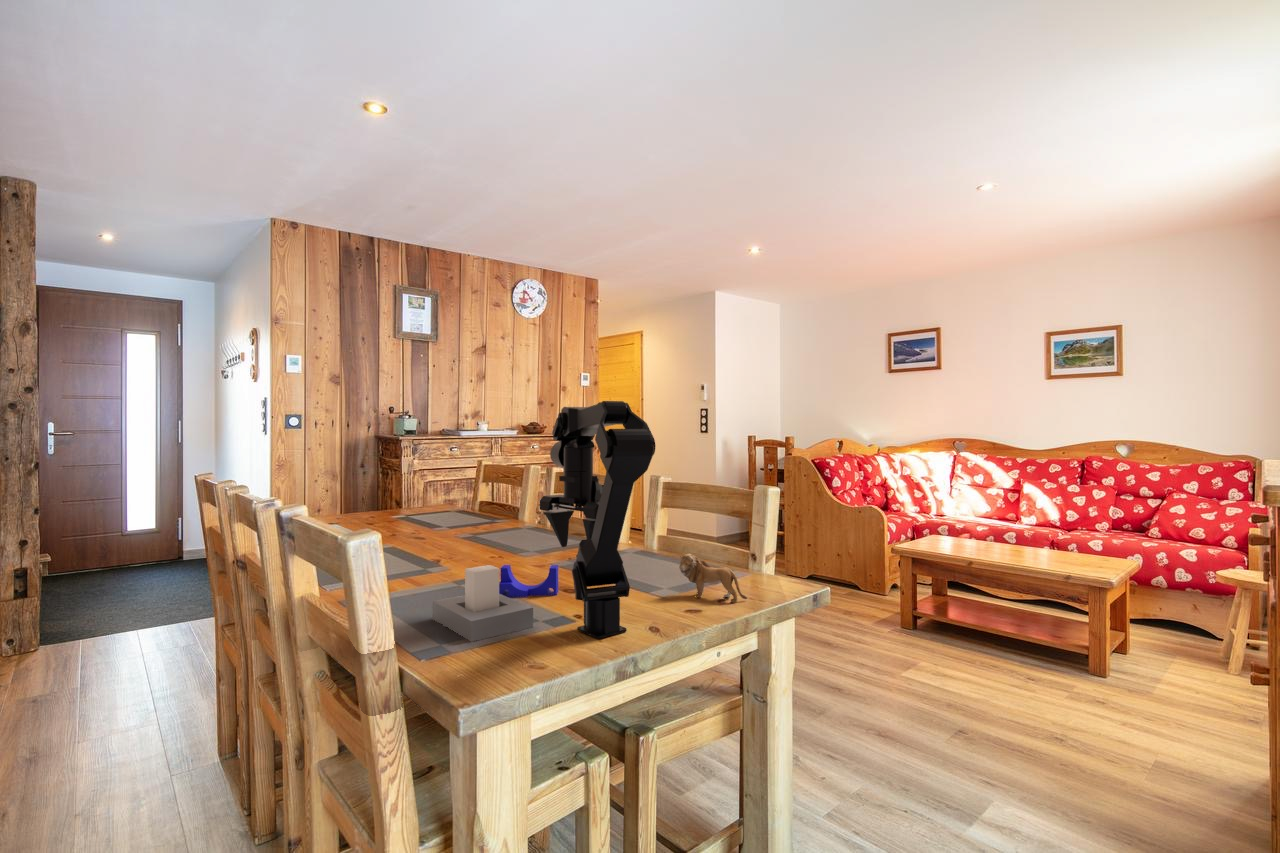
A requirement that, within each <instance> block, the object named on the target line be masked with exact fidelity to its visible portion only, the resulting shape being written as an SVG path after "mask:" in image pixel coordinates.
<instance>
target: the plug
mask: <svg viewBox="0 0 1280 853" xmlns="http://www.w3.org/2000/svg"><path fill="white" fill-rule="evenodd" d="M499 583H500V568H499V567H498V566H497V567H496V566H494V565H492V564H488V565H482V566H481V565H480V566H474V567H473V566H472V567H469V568H468V567H467V568H464V595H465V609H467V610H469V611H471V612H477V611H481V610H486V609H491V608H496V607H499Z"/></svg>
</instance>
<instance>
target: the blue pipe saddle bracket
mask: <svg viewBox="0 0 1280 853" xmlns="http://www.w3.org/2000/svg"><path fill="white" fill-rule="evenodd" d="M548 570H549V571H548V575H547V577H546V579H544V580H543V581H542V582H541V583H538V584H535V585H534V584H533V585H528V584H524V583H522V582H520V581H519V580H518V579H517V578H516V577H515V575H514V574H513V571H512V568H511V564H503V565H502V566H501V567H500V581H499V594H501V595H504V596H506V597H509V598H528V597H529V596H557V595H558V593H559V565H558V564H551V565H550V566H549V569H548ZM550 589H552V590H550Z"/></svg>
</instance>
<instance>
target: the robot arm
mask: <svg viewBox="0 0 1280 853" xmlns="http://www.w3.org/2000/svg"><path fill="white" fill-rule="evenodd" d="M614 425H622V427H623V428H609V429H607V430H606V428H607V427H610V426H614ZM605 427H606V428H605ZM551 434H552V437H553V438H552V439H553V441H554V442H555V441H557V442H555V443H554V444H553V445H552V447H551V450H550V452H549V456H550V460H551V462H552V463H553V464H554V465H555V466H556V467H560V468H563V475H559V482H563V494H560V493H559V494H551V495H550V494H549V495H543V496H541V498H540V500H539V510H540V511H543V515H544V516H545V517H546V518H547V520H548V522H549V524H550V526H551V527H552V531H553V532H554V534H555V535H556V538H557V540H558V542H559V544H560V546H561V547H562V548H566V547H567V546H568V540H569V528H570V519H571V518H572V516H573V514H574V513H575V512H582V513H583V515H584V518H583V519H582V523H583V528H584V532H585V537H586V539H582V540H580V542H579V543H578V550H577V554H576V556H575V557H576V561H574V563H573V566H572V570H571V574H572V580H573V586H574V587H573V588H574V589H573V590H574V596H575V598H574V599H575V600H576V601H582V602H583V625H580V626H577V627H576V628H577V631H578V632H581V633H583V634H585V635H588V636H591V637H593V638H595V639H604V638H607V637H611V636H614V635H618V634H622V633H625V632H627V630H628V628H626V627H625V626H622V625H621V624H620V623H621V618H620V617H621V612H620V610H621V606H620V605H621V603H620V602H621V599H620V598H624V597H625V598H627V597H628V598H629V595H630V589H631V586H630V583H629V580H628V575H627V574H626V573H627V572H626V570H625V567H624V560H623V559H622V556H621V554H620V553H619V550H618V547H619V543H620V539H621V536H622V531H623V529H624V524H625V521H626V516H627V513H628V512H627V511H628V508H629V505H630V500H631V496H632V492H633V488H634V484H635V482H636V481H637V480H639V479H640V478H641V477H642V476H643V475H644V474H645V473H646V472H647V471H648V469H649V467H650V464H651V462H652V459H653V456H654V455H655V452H656V440H655V437H654V435H653V434H652V431H651V429H650V427H649V424H648V423H647V422H646V421H645V420H644V419H642V417H640V416H638V415H637V414H636V413H635V412H633V411H632V409H631V406H630V404H629V403H628V402H624V401H623V400H602V401H600V402H599V401H598V403H597V404H592V405H590V406H563V407H562V408H561V410H560V412H559V413H558V415H557V417H556V420H555V423H554V426H553V428H552V433H551ZM593 440H595V442H594V441H593ZM595 443H596V446H597V448H598V451H599V457H600V458H599V459H600V460H601V462H602V464H603V467H604V469H605V471H606V472H605V478H604V482H603V484H602V483H599V477H598V475H594V449H595V447H596V446H595ZM607 585H608V586H607ZM598 586H599V587H598Z"/></svg>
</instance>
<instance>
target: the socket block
mask: <svg viewBox="0 0 1280 853" xmlns="http://www.w3.org/2000/svg"><path fill="white" fill-rule="evenodd" d="M434 620H435V622H436V621H437V622H436V623H438V622H439V623H441V624H443V625H444V626H443V625H442V626H443V627H445V626H446V627H448V628H449V629H448V628H447V629H448V630H450V629H451V630H450V631H452V630H453V631H454V633H455V632H456V633H455V634H457V633H458V634H457V635H459V636H460V635H461V636H460V637H462V636H463V637H462V638H464V639H465V640H467V639H468V640H467V641H469V642H471V643H472V641H473V642H476V640H477V641H481V640H486V639H489V638H493V637H497V636H501V635H506V634H509V633H510V634H511V633H514V632H518V631H521V630H522V631H523V630H526V629H531V628H533V627H534V608H533V607H532V606H531V605H527V604H525V603H523V602H520V601H518V600H515V599H513V598H512V597H506V596H504V595H501V594H499V607H496V608H491V609H486V610H481V611H477V612H471V611H469V610H467V609H465V594H463V595H458V596H456V595H455V596H451V597H447V598H441V599H437V600H432V621H434ZM439 623H438V624H439ZM441 624H440V625H441ZM446 627H445V628H446ZM453 631H452V632H453Z"/></svg>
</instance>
